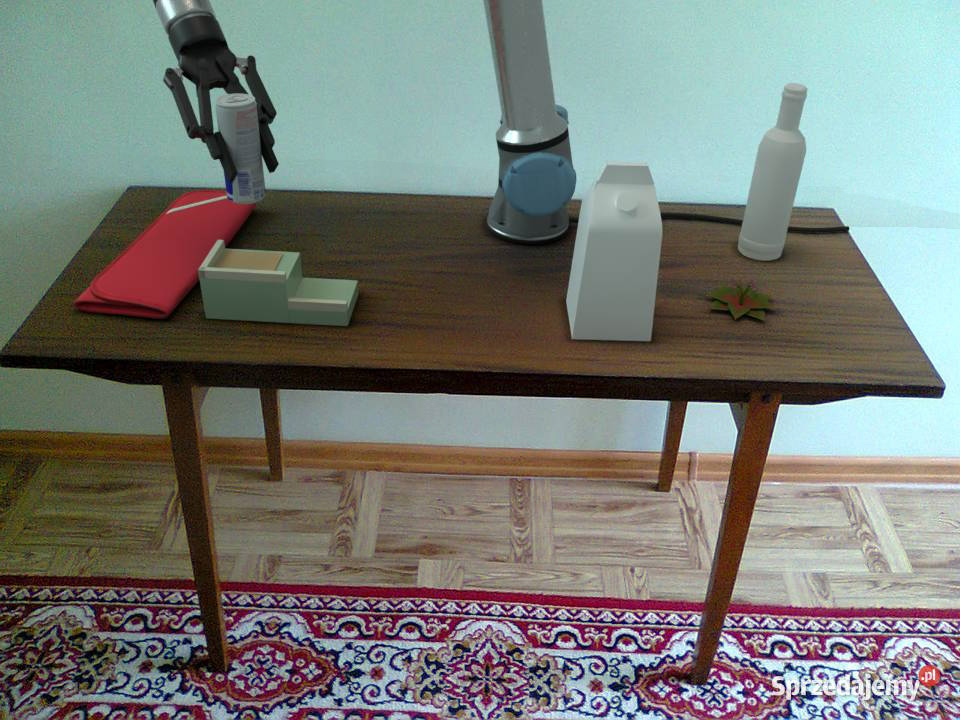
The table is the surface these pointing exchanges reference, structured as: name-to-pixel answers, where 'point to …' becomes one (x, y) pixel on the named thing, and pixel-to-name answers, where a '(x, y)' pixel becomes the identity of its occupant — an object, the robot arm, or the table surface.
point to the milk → (616, 256)
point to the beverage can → (242, 146)
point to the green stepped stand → (271, 289)
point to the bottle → (775, 180)
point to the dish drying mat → (165, 257)
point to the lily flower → (741, 300)
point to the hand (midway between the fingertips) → (253, 172)
